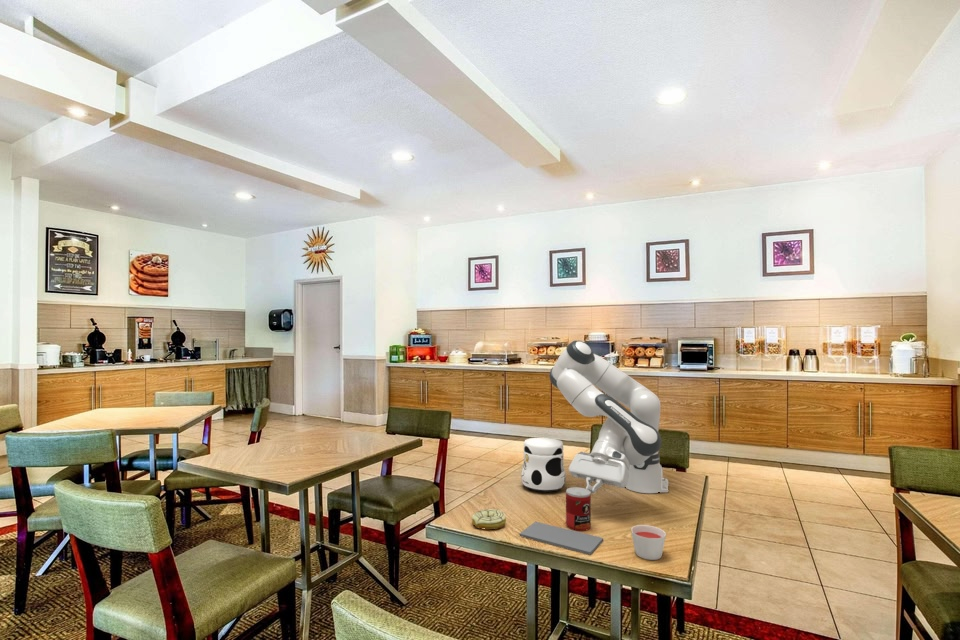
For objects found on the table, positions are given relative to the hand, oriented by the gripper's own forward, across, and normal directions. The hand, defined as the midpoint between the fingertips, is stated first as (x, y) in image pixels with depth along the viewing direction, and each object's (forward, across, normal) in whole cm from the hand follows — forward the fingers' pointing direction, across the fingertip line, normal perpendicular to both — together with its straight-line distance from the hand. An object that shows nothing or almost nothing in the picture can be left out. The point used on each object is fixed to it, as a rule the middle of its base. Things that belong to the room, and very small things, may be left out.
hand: (590, 491), depth 157 cm
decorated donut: (+25, -22, -12) cm, 35 cm away
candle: (+15, +24, -2) cm, 28 cm away
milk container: (-5, -29, +18) cm, 34 cm away
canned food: (+12, 0, +1) cm, 12 cm away
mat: (+20, +1, -7) cm, 21 cm away
